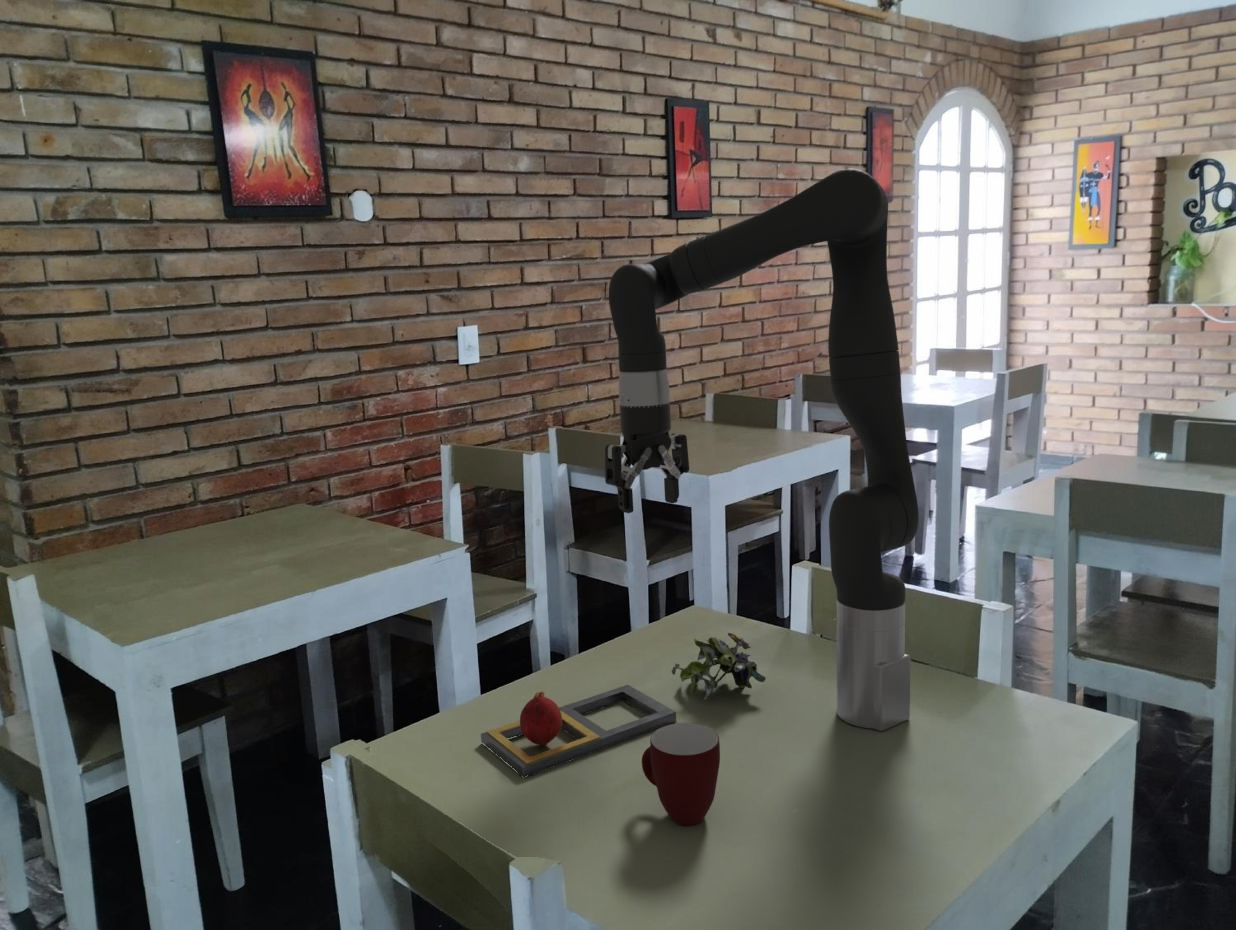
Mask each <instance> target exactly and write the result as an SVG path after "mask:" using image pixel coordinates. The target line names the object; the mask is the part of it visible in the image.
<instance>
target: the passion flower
mask: <svg viewBox="0 0 1236 930" xmlns="http://www.w3.org/2000/svg"><path fill="white" fill-rule="evenodd" d="M727 636H728V637H729V638H730V639H732V640H733V642H734V643H736V644H735V646H732V647H729V644H726V642H725V641H723V640H721V638H720V639H718V638H717V637H716V636H715V637H714V636H710V637H709V638H708V639H706V642H707V643H706V642H704V641H700V640H699V639H697V637H695V638H694V639H693V640H694V645H696V646H697V647H698V648H699V649H700V651H699V652H698V656H697V660H695V661H690V663H688V665H687V666H686V667H684V668H682V667H681V666H680V663H675V664H674V666H673V667H672V669H671V673H672V675H673V676H674V675H676V671H677V669H678V670H681V671H680V673H679V674H680V675H679V678H680V680H681V682H684V681H686V680H689V679H690V682H691V683H692V684H691V685H690V693H691V695H693V694H694V691H695V688H696V686H697V684H698V683H699V682H700V681H703V682H704V690H705V691H704V692H705V694H704V695H705V696H704V699H703V700H702V702H701V703H702V704H704V703H705V701H707V699H708V696H709V695H710V694H711V693H712V692H713V691H714V690H715V689H716V688H717V687H718V684H719V682H721V680H722V679H723V678H724V677H725V676H726V674H731V675H732V676H733V680H734V683H735V685H736V686H737V687H739V688H740V689H743V688H747V689H752V688H753V686H752V684H751V682H750V679H751V678H754V679H755V680H756V681H758V682H761V683H764V682H765V681H766V676H764V675H763V674H761V673H760V672H758V667H757V663H756V662H755V661H751V660H750V659H749V658H748V657H750V656H751V655H750V654H747V653H745V652H743V651H741V652H738V649H739V648H740V647H742V648H743V649H744V650H747V649H751V648H752V647H751V646H750V645H749V642H746V641H745V640H744V639H743V637H740V636H738V635H737V634H736V633H731V632H728V633H727ZM702 659H705V661H704V662H703V663H702V662H701V661H700V660H702ZM717 665H719V669H718V671H717V672H716V674H715V676H712V675H711V672H710V670H711V668H712V667H714V666H717ZM720 671H722V672H723V674H722V675H721V676H720V677H719V678H718V679H717V677H718V676H719V673H720ZM704 676H705V677H708V678H709V679H706V678H705V677H704ZM716 679H717V680H716Z"/></svg>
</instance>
